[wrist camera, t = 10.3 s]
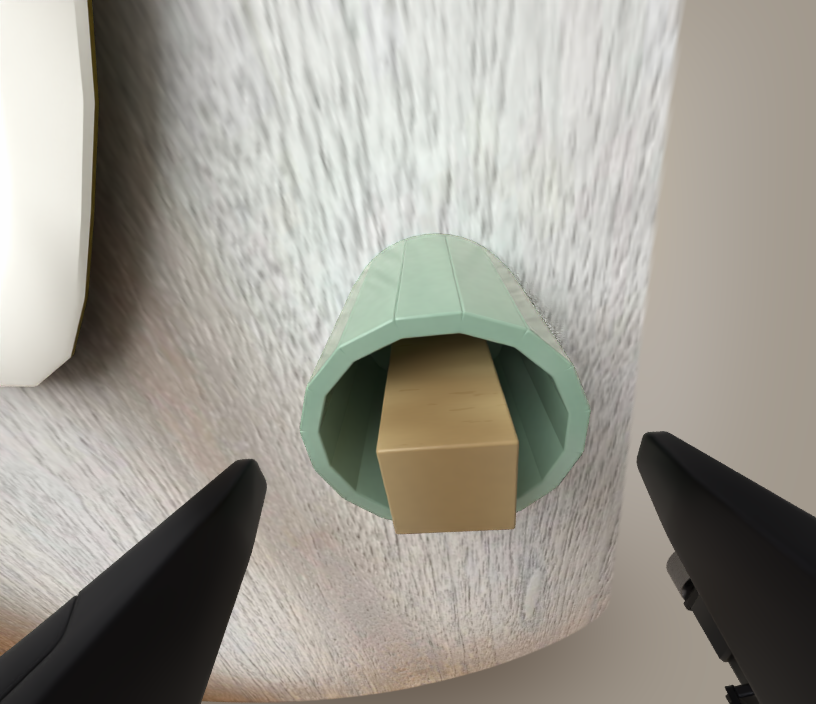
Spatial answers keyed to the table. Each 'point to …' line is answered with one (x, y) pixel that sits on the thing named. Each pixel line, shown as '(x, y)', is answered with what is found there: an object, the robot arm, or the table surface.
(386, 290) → the cup
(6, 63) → the plate
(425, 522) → the stick
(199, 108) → the table surface
